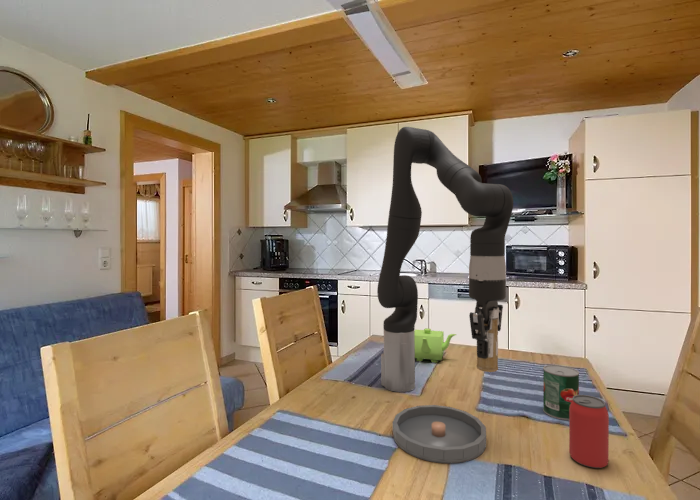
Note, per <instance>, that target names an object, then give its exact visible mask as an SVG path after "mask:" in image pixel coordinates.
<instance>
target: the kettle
mask: <svg viewBox="0 0 700 500" xmlns="http://www.w3.org/2000/svg"><path fill="white" fill-rule="evenodd" d="M414 330H415V362H418V361H421V362H423V360H430V362H431V363H432V362H433V363H432V364H438V363H437V362H438V361H442V360H443V356H444V354H445V352H444V351H446V350H447V349H448V347H449V345H450V343H451V340H452V338H453V337H455V336H457V334H455V333H451V334H448V335H447V337H446V340H445V341H444V339H445V338H444V335H445V333H444V331H443V330H441V331H440V330H432V329H431V328H424V329H414Z"/></svg>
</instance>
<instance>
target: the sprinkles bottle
mask: <svg viewBox="0 0 700 500" xmlns="http://www.w3.org/2000/svg"><path fill="white" fill-rule="evenodd" d="M493 309H495V311H494V317H493V318H492V319H493V324H492V330H491V331H489V340H488V358H486V359H483V358H479V357H477V356H476V366H475V367H476V369H478V370H479V371H481V372H484V373H485V372H486V373H494V372H498V370H499V363H498V362H499V361H498V357H499V337H498V335H499V331H498V321H497V320H498V317H499V311H498V309H496V308H493ZM489 312H490V311H489ZM487 325H488V324H484V326H487ZM480 334H481V332H480Z"/></svg>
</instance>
